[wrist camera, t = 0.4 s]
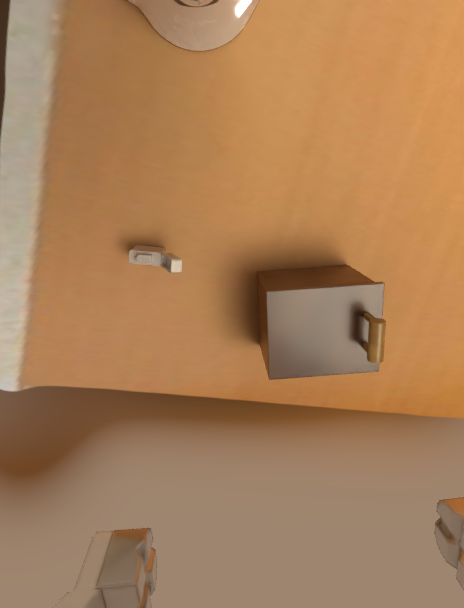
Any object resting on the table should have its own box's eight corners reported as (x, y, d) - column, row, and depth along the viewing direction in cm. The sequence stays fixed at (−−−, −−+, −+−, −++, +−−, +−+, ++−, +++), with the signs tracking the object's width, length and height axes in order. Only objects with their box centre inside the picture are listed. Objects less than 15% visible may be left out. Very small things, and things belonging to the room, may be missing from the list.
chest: (347, 265, 55) (375, 281, 45) (345, 339, 59) (370, 369, 49) (256, 271, 55) (265, 289, 45) (259, 345, 58) (268, 376, 49)
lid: (381, 281, 45) (400, 292, 41) (376, 368, 49) (393, 388, 44) (265, 289, 45) (270, 302, 41) (268, 376, 49) (273, 397, 44)
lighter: (135, 257, 53) (122, 269, 46) (135, 244, 53) (122, 255, 45) (185, 261, 54) (180, 274, 46) (186, 249, 53) (181, 260, 46)
